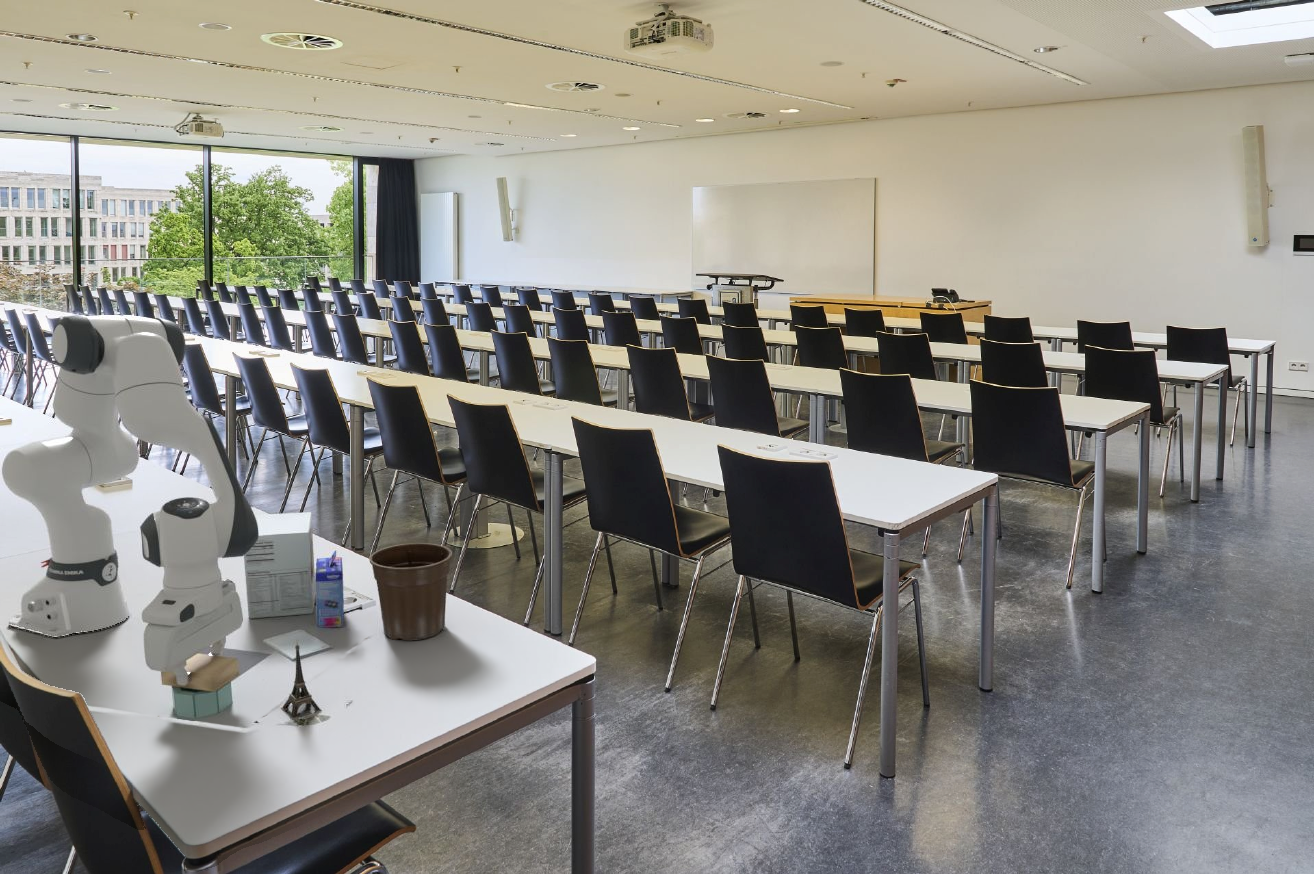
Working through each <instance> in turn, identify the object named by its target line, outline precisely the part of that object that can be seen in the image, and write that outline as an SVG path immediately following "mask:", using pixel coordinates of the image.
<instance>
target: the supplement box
mask: <svg viewBox="0 0 1314 874" xmlns="http://www.w3.org/2000/svg"><path fill="white" fill-rule="evenodd" d="M254 515H255V517H256V520H257V523H258V533H259V535H258V540H257V541H256V543H255V544H254V546H253V547H252V548H251V549H250V550H249V551H248V552H247V553H246V554H245V555H243V559H244V563H243V564H244V574H245V575H244V576H245V587H246V588H245V589H246V602H247V614H248V619H249V620H251V619H263V618H272V617H273V618H274V617H275V618H276V617H286V616H298V615H299V616H300V615H311V614H313V612H314V606H315V603H316V578H315V573H316V568H315V556H314V554H315V553H314V540H313V539H314V538H313V513H312V512H311V511H308V512H307V511H306V512H289V513H288V512H287V513H269V514H267V513H266V514H254Z"/></svg>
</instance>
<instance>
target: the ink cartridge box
mask: <svg viewBox="0 0 1314 874" xmlns="http://www.w3.org/2000/svg"><path fill="white" fill-rule="evenodd" d="M315 565H316V566H315V580H316V595H315V604H316V605H315V608H316V610H315V611H316V612H315V614H316V627H318V628H324V629H325V628H326V629H327V628H342V627H344V612H345V611H344V610H345V607H344V574H343V570H344V569H343V557H339V556H338V557H337V550H334V551H333V554H331V557H322V558H320V557H319V558H316V563H315Z"/></svg>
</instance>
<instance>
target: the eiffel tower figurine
mask: <svg viewBox="0 0 1314 874" xmlns="http://www.w3.org/2000/svg"><path fill="white" fill-rule="evenodd" d="M295 649H296V660H295V678H294V681H293V683H294V685H293V687H292V690H291V692H290V693H289V697H288V698H287V700H286V701H285V703H284V704H283V706H282V707H281V708H280V710H281V711H282V712H283V713H284V714H285V715H286V716H287V717H288V718H289V720H287V721H284V723H277V724H276V725H279V726H280V725H281V726H293V727H299V726H303V727H304V726H305V727H306V726H312V725H317V724H320V723H324V722H326V721H328V720H330V718H331V716H330V715H325V714H319V715H318V714H317V713H321V712H323V710H322V709H321V708H320V707H319V705H318V704H317V703H316V701H315V700H314V699H313V698H312V697H313V695H312V693H310V692H309V691H308V690H309V689H308V687H307V685H306V683H307V682H306V681H305V680H304V679H305V678H304V674H303V670H302V662H301V661H302V660H301V659H300V653H299V649H300V648H299V646H298V645H296V646H295ZM347 702H348V701H347ZM348 703H349V705H351V703H352V702H348ZM345 705H348V704H345ZM349 705H348V706H349ZM346 707H347V706H346ZM347 708H348V707H347ZM314 714H317V715H314ZM253 723H254V724H259V721H257V720H255V721H254V722H253Z"/></svg>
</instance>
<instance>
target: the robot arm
mask: <svg viewBox="0 0 1314 874" xmlns="http://www.w3.org/2000/svg"><path fill="white" fill-rule="evenodd" d="M50 345H51V351H52V352H51V353H52V356H53V358H54V361H55V363H56V364H57V365H58V366H59V372H58V378H57V381H56V387H55V391H54V395H53V396H54V397H53V402H52V407H53V412H54V413H55V416H56V417H57V420H59V421H60V422H61V423H63V424H64V425H65V426H67V427H69V428H72V431H71V432H70V433H69V434H68V435H65V436H60V437H56V438H55V437H54V438H50V439H49V438H48V439H44V440H39V441H34V442H30V443H28V444H25V445H22V446H20V447H17V448H15V449H13V450H10V451H9V452H8V453H7V454H6V456H5V458H4V459H3V462H2V466H1V475H2V479H3V482H4V485H5V486H6V487H7V488H8V490H9V491H10V492H12V494H14V495H15V496H17V497H18V498H20V499H23V500H25V501H27V502H29V503H30V504H32V506H33V507H35V508H36V510H37V511H38V512H39V513H40V515H41V517H42V518H43V521H44V523H45V525H46V528H47V535H48V538H49V545H50V551H51V557H50V558H49V559H46V560H44V561H41V562H40V564H43V565H41V568H45V567H47V569H46V573H45V576H44V577H42V578H41V579H40V580H38V581H37V582H36V583H35V584H34V585H33V586H31V587H30V588H29V589H27V590H26V591H25V592H24V594H23V595H22V598H21V602H20V611H21V612H18V613H16V614H15V615H13V617H11V618H10V619H9V620H8V625H9V624H12V625H17V626H19V627H24V628H25V629H31V630H34V631H39V632H42V633H43V634H48V635H51V636H62V635H66V634H72V633H76V632H81V631H82V632H84V631H92V632H95V631H94V630H96V629H101V630H103V629H102V628H105V627H108V628H110V627H109V626H111V627H113V626H112V625H114V626H116V625H115V624H117V623H119V624H120V622H121V623H123V622H124V621H126V620H127V619H128V618H129V617H130V615H131V614H130V613H129V612H130V610H129V609H128V604H127V600H126V599H125V596H124V593H123V588H122V585H121V580H120V577H119V576H120V575H119V572H118V571H119V557H118V553H117V550H116V549H115V545H114V535H113V526H112V519H111V517H110V515H109V514H108V512H106V511H105V509H102V508H101V507H98V506H94V505H93V504H92V505H91V504H88V503H86V501H85V499H84V495H83V489H84V490H85V489H88V488H92V487H96V486H102V485H104V484H105V485H106V484H110V483H113V482H116V481H118V480H120V479H122V478H124V477H126V476H128V475H130V474H132V473H133V472H135V470H136V469H137V466H138V465H139V460H140V451H139V447H138V444H137V443H136V441H135V439H134V438H137V439H139V440H140V441H142V442H146V443H147V444H151V445H154V446H159V447H164V448H168V449H173V450H177V451H180V452H184V453H187V454H188V455H191V456H193V457H195V458H196V460H198V461H199V462H200V464H201V466H202V468H203V470H204V472H205V474H206V476H207V477H206V478H207V479H208V482H209V484H210V487H211V489H212V492H213V495H214V497H215V499H216V502H215V501H214V503H209V502H208V501H207V500H206V499H205V500H204V499H202V498H199V497H191V496H190V497H179V498H178V497H177V498H174V499H171V500H169V501H167V502H165V503H164V504H163V505H162V506H161V508H160V510H158V511H155V512H151V514H149V515H148V516H147V517H146V519H144V521H143V522H142V523H141V525H140V526H139V528H140V535H141V536H140V537H141V547H142V549H141V550H142V551H141V552H142V558H143V559H144V560H145V561H147V562H148V563H151V564H152V565H154V566H156V567H158V568H163V570H164V572H163V573H164V574H163V577H162V587H163V588H162V589H161V590H159V592H158V594H157V595H156V596H155V597H154V599H152V601H151V602H150V603H149V604H147V605H146V607H144V608H143V610H142V611H141V620H142V622H143V623H146V626H145V628H144V631H143V649H144V652H143V653H144V658H145V664H146V667H148V668H149V669H150V670H152V671H156V672H161V671H162V672H168V671H170V670H172V671H173V672H174V674H175V675H176V678H177V684H178V685H183V686H185V685H187V684H188V683H190V682H191V681H192V678H191V677H192V676H191V672H187V671H186V670H185V668H184V667H185V666H186V665H187V664H186V660H188V659H190V658H191V657H193V656H195V655H196V654H198V653H200V652H201V651H203V650H204V649H206V648H208V647H209V646H211V647H212V648H211V653H210V654H209V655H214V656H222V652H223V649H224V648H225V646H226V642H227V637H228V636H229V635H230V634H232V633H234V632H235V631H238V630H239V629H240V628H241V627H242V626H243V621H244V615H243V607H242V603H241V599H240V596H239V593H238V592H237V589H236V583H235V582H234V581H233V580H230V579H228V578H225V579H224V580H222V579H223V578H222V572H221V569H220V568H219V563H218V561H219V558H221V559H226V558H227V559H228V558H238V557H244V555H245V554H246V553H247V552H248V551H249V550H250V549H251V548H252V547H253V546H254V544H255V543H256V541H257V540H258V535H259V533H258V523H257V520H256V517H255V515H256V514H254V510H253V509H252V507H251V505H250V503H249V501H248V500H247V497H246V495H245V493H244V492H243V490H242V487H241V484H240V482H239V479H238V476H237V474H236V472H235V469H234V467H233V465H232V462H231V460H230V458H229V455H228V452H227V450H226V448H225V445H224V442H223V440H222V439H221V436H220V434H219V432H218V429H217V428H216V426H215V424H214V423H213V421H212V420H211V418H210V417H208V416H205V415H203V414H200V413H199V412H198V411H197V410H196V408H195V407H194V406H193V405H192V403H191V402H190V400H189V398H188V395H187V393H186V388H185V384H184V379H183V376H182V372H181V369H180V366H181V364H183V361H184V359H185V356H186V338H185V335H184V333H183V330H182V329H181V328H180V326H179V325H178V324H177V323H175V322H174V321H171V320H169V319H166V318H165V319H164V318H160V317H155V318H151V317H144V316H137V315H129V314H119V315H114V314H113V315H111V314H110V315H107V314H105V315H103V314H102V315H87V316H86V315H85V314H77V315H76V314H75V315H69V316H64V317H62V318H61V319H60V320H58V321H57V323H56V324H55V325H54V327H53V330H52V335H51V342H50ZM119 418H120V421H121V424H122V426H123V427H124V429H125V430H127V431H128V433H130V434H131V435H132V436H134V438H133V437H132V436H131V435H130V434H128V433H127V432H125V431H124V430H123V429H122V428H121V427H120V423H119ZM129 614H130V615H129ZM128 616H129V617H128ZM126 618H127V619H126ZM122 621H123V622H122ZM117 625H118V624H117ZM105 629H106V628H105ZM72 635H73V634H72Z"/></svg>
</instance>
